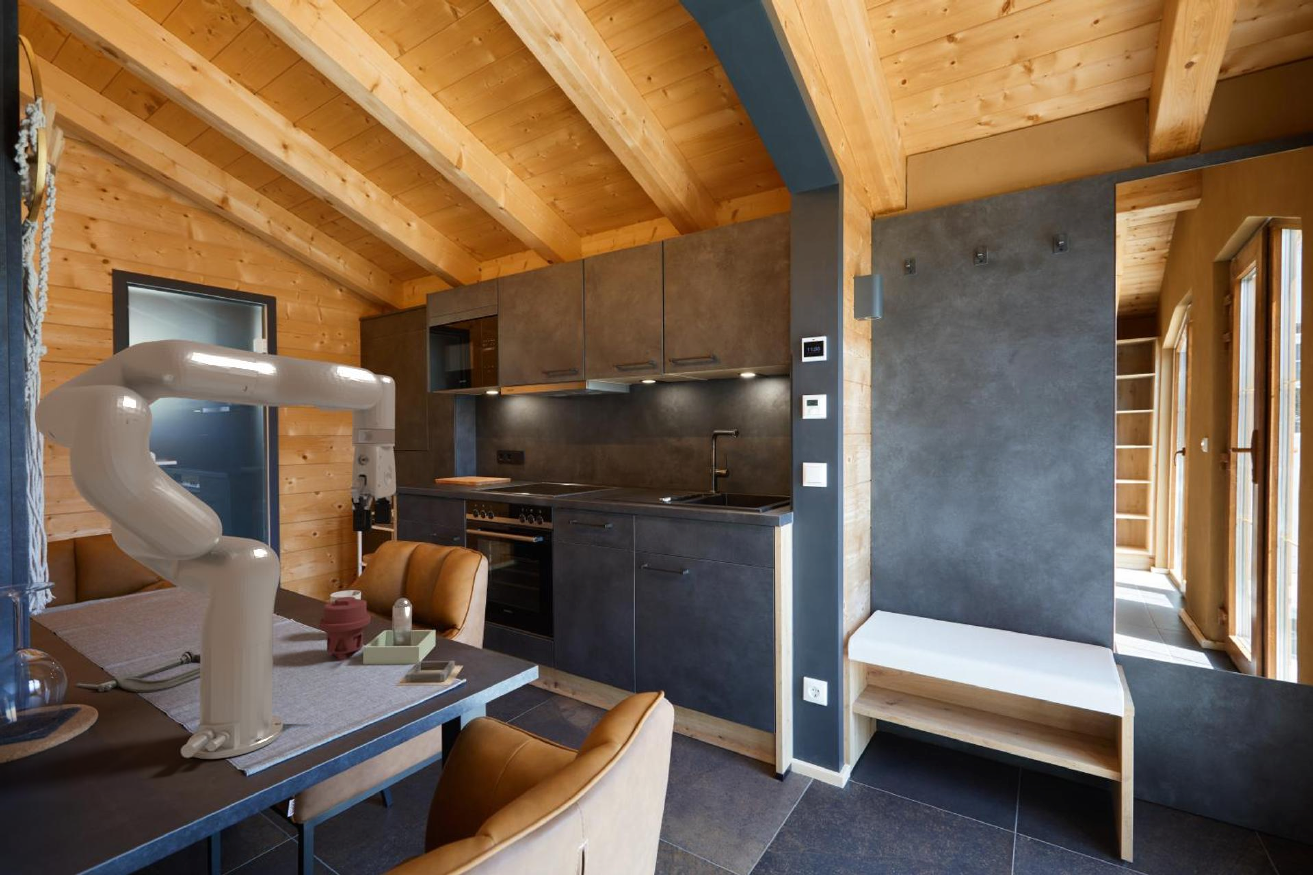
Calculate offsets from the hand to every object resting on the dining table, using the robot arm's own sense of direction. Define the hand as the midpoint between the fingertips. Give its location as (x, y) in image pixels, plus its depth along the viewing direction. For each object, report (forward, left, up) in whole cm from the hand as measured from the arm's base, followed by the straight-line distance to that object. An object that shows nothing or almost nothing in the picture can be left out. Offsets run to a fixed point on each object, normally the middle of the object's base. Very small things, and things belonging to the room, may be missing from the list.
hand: (372, 527), depth 121 cm
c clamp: (+6, +43, -31) cm, 53 cm away
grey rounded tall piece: (+13, -1, -30) cm, 32 cm away
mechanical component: (+16, +12, -31) cm, 36 cm away
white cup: (+30, +18, -31) cm, 46 cm away
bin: (+13, -1, -30) cm, 33 cm away
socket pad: (+1, -11, -30) cm, 32 cm away
